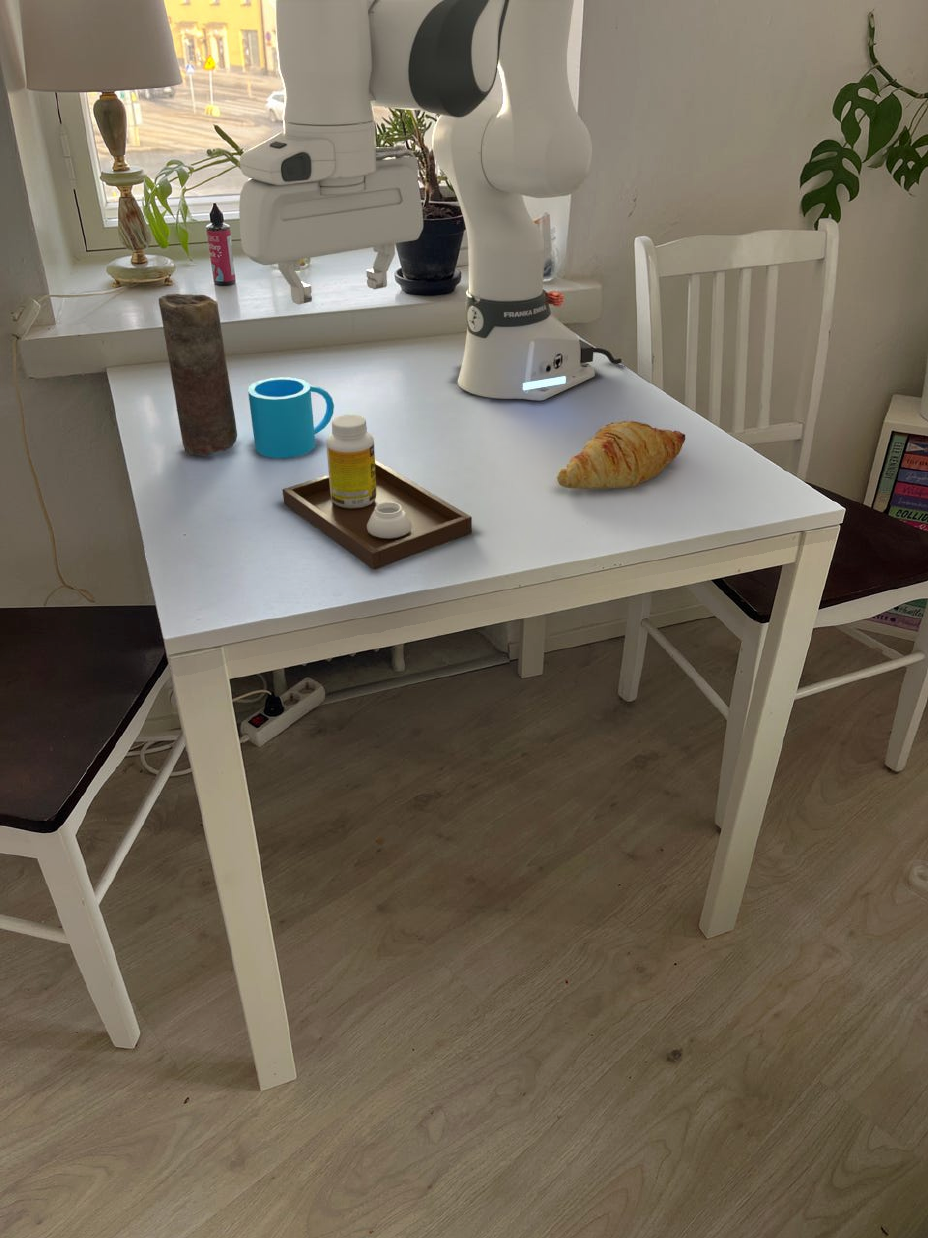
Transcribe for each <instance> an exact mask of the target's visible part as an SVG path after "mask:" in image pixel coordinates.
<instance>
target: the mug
mask: <svg viewBox="0 0 928 1238" xmlns="http://www.w3.org/2000/svg"><path fill="white" fill-rule="evenodd" d="M247 393H248V401H249V402H248V403H249V409H250V416H251V425H252V431H253V432H252V433H253V442H254V448H255V451H256V452H257V453H258V454H260V455H262V456H264V457H268V458H272V459H289V458H291V459H292V458H296V457H301V456H304V455H306V454H309V453H310V452H311V451H313V450H314V449H315V447H316V436H315V435H317V434H319V433H320V432H321V431H323V430H324V429H325V428H326V427H327V425H328V424H329V423H330V422H331V420H332V417H333V415H334V411H335V404H334V400H333V397H332V396H331V395H330V393H329V392H328V391H327V390H325V389H324V388H322V387H320V386H315V385H311V384H310V383H309V382H308V381H306V380H304V379H301V378H295V377H288V376H287V377H286V376H279V377H278V376H277V377H270V378H265V379H261V380H257V381H255V382H254V383H252V384H250V385H249V387H248V388H247ZM312 393H315V394H316V393H317V394H318V395H320V396H322V398H323V399H324V400H325V404H326V409H325V413H324V416H323V418H322V419H321V420H320V422H319V423H317V425H314V415H313V403H312Z"/></svg>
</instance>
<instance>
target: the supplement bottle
mask: <svg viewBox="0 0 928 1238" xmlns="http://www.w3.org/2000/svg"><path fill="white" fill-rule="evenodd" d="M331 420H332V421H331V433H330V434H329V435H328V436H327V438H326V440H325V441H326V443H325V445H326V459H327V469H328V475H329V484H330V495H331V500H332V502H333V503H334V504H336V505H337V506H339V507H342V508H347V509H357V508H363V507H366V506H368V505H370V504H372V503H373V502H374V501H375V499H376V473H375V460H376V454H375V439H374V436H373V435H372V434H371V433H370V432H369V431H367V430H368V427H367V420H366V418H365V417H364V416H362V415H359V414H342V415H338V416H335V417H334V418H333V419H331Z"/></svg>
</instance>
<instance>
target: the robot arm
mask: <svg viewBox="0 0 928 1238" xmlns="http://www.w3.org/2000/svg"><path fill="white" fill-rule="evenodd" d="M574 1H575V0H275V40H276V53H277V66H278V71H279V74H280V78H281V80H282V83H283V88H284V106H283V112H282V120H283V130H284V131H281V132H280V133H278V134H276V135H274V136H272V137H271V138H269V139H267V140H265V141H263V142H261V143H259V144H257V145H255V146H253V147H252V148H250V149H247V150H245V151H244V152H242V154H241V155H240V157H239V168H240V171H241V173H242V175H243V176H245V177H247V178H249V179H248V180H246V181H245V182H244V184H243V185H242V187H241V190H240V193H239V200H238V210H239V211H238V217H239V233H240V234H239V235H240V242H241V248H242V251H243V253H244V254H245V255H246V257H248V258H249V260H251V261H252V262H255V263H257V264H258V265H259V264H260V265H262V266H272V265H277V268H278V270H279V272H280V273H281V275H282V276H283V278H284V279H285V280H286V283H288V285H289V286H290V297H291V300H292V303H295V304H296V305H303V304H304V305H305V304H308V303H311V302H313V296H312V285H310V284H307V283H305V282H303V281H302V280H301V279H300V277H299V275H298V274H297V272H299V271H301V260H307V259H311V258H317V257H318V258H319V257H324V256H330V255H336V254H342V253H346V252H353V251H358V250H364V249H365V250H366V249H371V248H373V252H375V253H377V254H376V256H375V260H374V262H373V266H372V268H370V269H366V277H367V279H366V283H367V287H368V288H370V289H372V290H379V289H383V288H386V287H388V279H387V278H388V273H387V272H388V271H389V269H390V266H391V264H392V262H393V259H394V257H395V255H396V244H399V243H404V242H411V241H416V240H418V239H419V238H420V236H421V234H422V232H423V230H424V215H423V213H424V212H423V205H422V197H421V191H420V185H419V163H418V159H417V157H416V155H415V154H414V152H412V151H411V150H410V149H408V148H407V147H406V146H405V145H401V144H400V145H397V144H396V145H393V146H389V147H387V146H386V147H385V146H382V147H376V125H375V113H374V108H373V107H381V108H382V107H383V108H386V109H398V110H411V111H424V112H426V113H430V114H435V115H436V114H437V115H439V117H438V118H437V120H436V123H435V125H434V128H433V133H432V143H431V145H432V146H431V147H432V153H433V157H434V160H435V163H436V164H437V166H438V168H439V169H440V170H441V171H442V173H444V175H445V176H446V178H447V180H448V181H449V183H450V184H451V186H452V189H453V191H454V193H455V196H456V198H457V201H458V204H459V207H460V210H461V211H460V212H461V214H462V217H463V221H464V225H465V230H466V237H467V250H468V251H467V253H468V254H467V255H468V289H467V290H466V292H465V320H466V325H467V326H466V329H467V330H466V338H465V346H464V351H463V358H462V363H461V368H460V371H459V375H458V378H457V385H458V386H459V388H461V389H462V390H463V391H465V392H467V393H470V394H472V395H475V396H479V397H484V398H490V399H499V400H504V399H505V400H511V399H512V400H514V399H519V400H529V401H545V400H547V399H549V398H551V397H554V396H556V395H558V394H560V393H562V392H564V391H567V390H568V389H571V388H572V387H573V388H574V387H575V386H578V385H579V384H582V383H583V382H585V381H588V380H590V379H593V378H594V377H595V376H596V373H595V372H596V371H595V369H594V367H593V366H592V365H590V364H589V363H593V361H594V354H595V353H596V354H602V355H604V356H605V357H606V358H607V359H608V361H609V362H610V363H611V364H613V365H618V364H621V363H622V359H621V358H619V357H618V358H614V356H613V355H612V354H611V352H610V351H609V350H607V349H606V348H605V349H604V348H600V347H594V346H593V345H591V344H589V343H588V342H586V341H584V340H582V339H579V338H578V335H576V333H574V331H572V330H571V329H570V328H568V327H567V326H566V325H565V324H563V323H562V322H561V321H560V320H558V319H557V318H556V317H555V316H554V315H553V314H552V312H551V308H550V305H552V306H554V307H557V308H559V307H561V306H562V305H563V303H564V300H565V298H564V296H565V295H564V294H563V293H561V292H556V291H555V290H551V291H549V292H547V291H546V290H545V289H544V275H545V274H544V273H545V252H546V241H545V237H544V233H543V232H542V230H541V228H540V227H539V226H538V224H537V223H536V222H535V221H534V220H533V219H532V217H531V216H530V214H529V212H528V210H527V207H526V204H525V202H524V197H523V196H525V197H529V198H535V199H549V198H559V197H567V196H569V195H571V194H573V193H575V192H576V191H577V190H578V189H579V188H580V187H581V186H582V184H583V182H584V181H585V180H586V177H587V176H588V174H589V170H590V168H591V165H592V159H593V142H592V138H591V135H590V131H589V129H588V128H587V125H586V124H585V123H584V121H583V120H582V119H581V117H580V115H579V113H578V112H577V109H576V107H575V105H574V102H573V98H572V94H571V90H570V89H571V88H570V84H569V76H568V75H569V74H568V64H567V63H568V48H569V40H570V39H569V38H570V30H571V23H572V16H573V9H574V3H575V2H574ZM498 72H499V75H500V79H501V84H502V102H500V101H493V100H485V99H486V98H487V97H488V96H489V94H490V93H491V91H492V89H493V88H494V85H495V82H496V78H497V73H498Z"/></svg>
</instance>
